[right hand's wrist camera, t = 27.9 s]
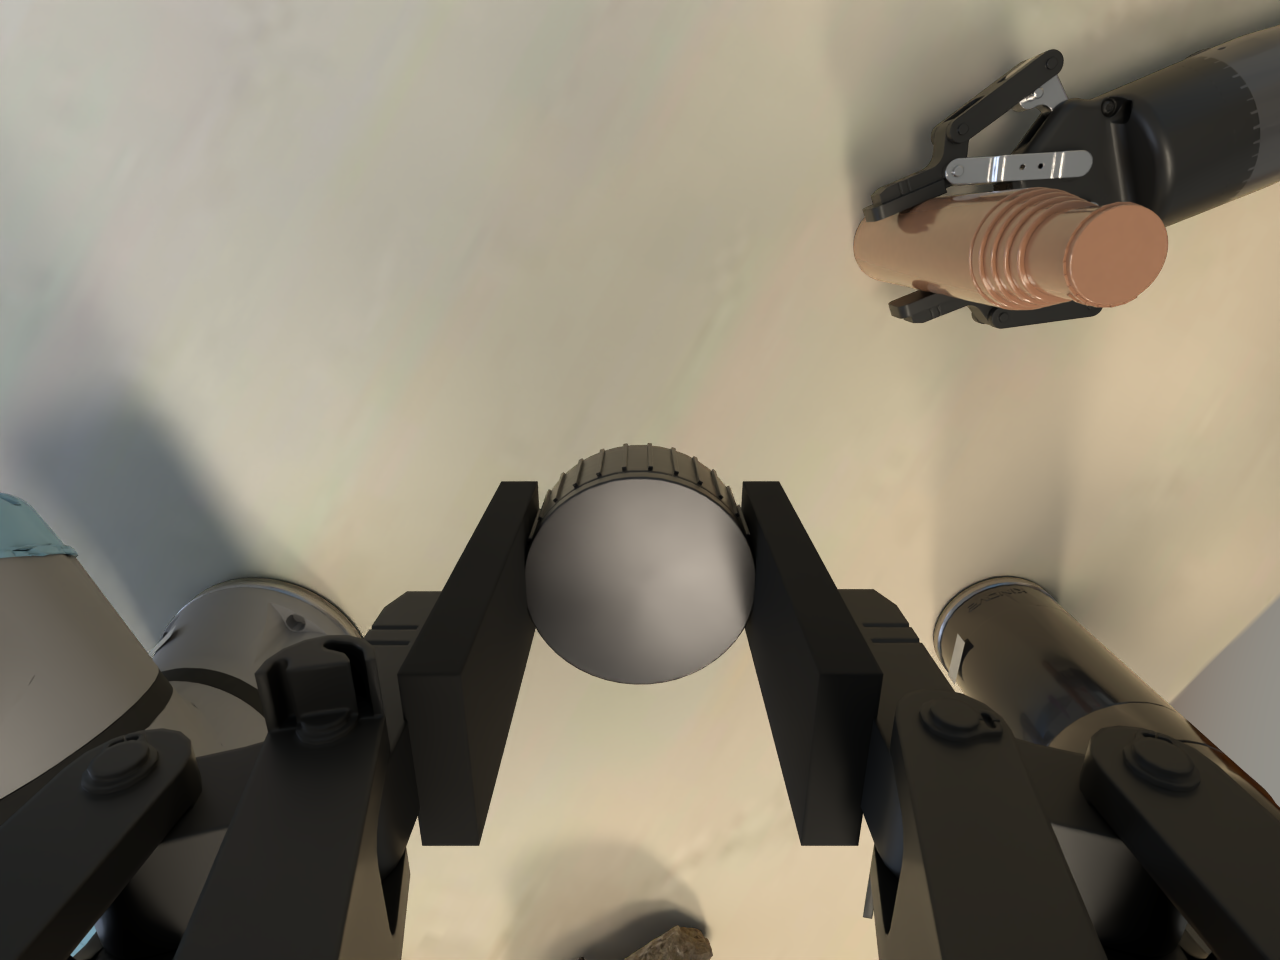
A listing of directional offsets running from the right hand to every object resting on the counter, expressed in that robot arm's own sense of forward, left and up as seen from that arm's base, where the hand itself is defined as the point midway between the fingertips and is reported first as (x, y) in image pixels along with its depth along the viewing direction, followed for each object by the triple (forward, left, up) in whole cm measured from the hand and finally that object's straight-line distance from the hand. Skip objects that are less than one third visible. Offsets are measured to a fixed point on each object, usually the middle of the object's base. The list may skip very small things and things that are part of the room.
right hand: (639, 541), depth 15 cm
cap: (0, 0, +2) cm, 2 cm away
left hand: (+2, -14, -26) cm, 29 cm away
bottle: (+3, -16, -32) cm, 36 cm away
